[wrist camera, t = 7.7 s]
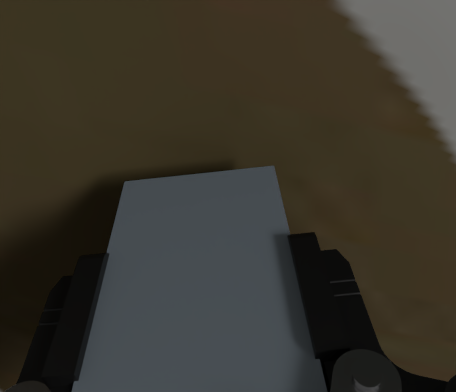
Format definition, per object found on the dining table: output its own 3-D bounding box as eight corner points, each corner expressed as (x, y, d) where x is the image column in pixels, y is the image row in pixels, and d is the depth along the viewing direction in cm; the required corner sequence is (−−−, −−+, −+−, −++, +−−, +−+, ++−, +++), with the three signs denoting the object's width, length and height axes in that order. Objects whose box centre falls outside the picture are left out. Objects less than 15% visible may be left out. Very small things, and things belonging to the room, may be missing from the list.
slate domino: (275, 203, 15) (353, 568, 7) (135, 217, 15) (61, 593, 7) (273, 165, 14) (362, 539, 6) (124, 181, 14) (27, 568, 6)
